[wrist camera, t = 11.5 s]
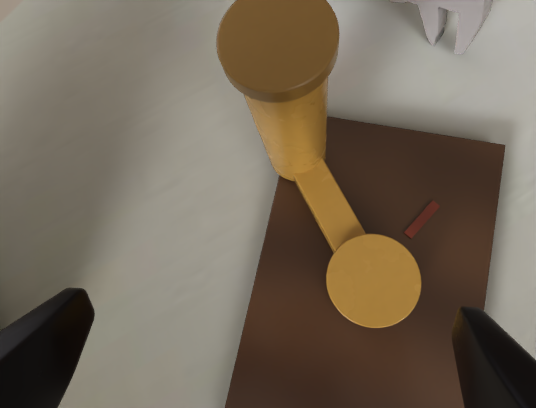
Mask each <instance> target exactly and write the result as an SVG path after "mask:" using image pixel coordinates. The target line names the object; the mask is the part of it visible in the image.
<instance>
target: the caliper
mask: <svg viewBox="0 0 536 408" xmlns="http://www.w3.org/2000/svg"><path fill="white" fill-rule="evenodd" d="M389 1H391V2H402V3H406V2H407V1H408V2H411V3H414V4H416V5H418V7H419V11H420V14H421V18H422V21H423V25H424V28H425V32H426V35H427V39H428V40H429V42H430V43H431V44H432V45H433V46H434V45H435V44H436V43H437V41H438V40H439V39H440V37H441V36H442V34H443V33H444V26H445V24H446V18H447V10H450V11H453V12H457V13H459V16H458V26H457V35H456V45H455V51H454V53H455V54H463V53H464V52H465V50H466V49H467V47H468V46H469V45H470V43H471V42H472V40H473V39H474V37H475V36H476V34H477V33H478V31H479V29H480V28H481V26H482V24H483V23H484V21H485V19H486V17H487V16H488V14H489V12H490V11H491V5H492V0H389Z"/></svg>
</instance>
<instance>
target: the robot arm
mask: <svg viewBox="0 0 536 408" xmlns="http://www.w3.org/2000/svg"><path fill="white" fill-rule="evenodd" d="M94 315H95V313H94V308H93V306H92V304H91V301H90V299H89V297H88V294H87V292H86V291H85V290H84V289H82V288H66V289H65V290H63V291H61V292H60V293H58V294H57V295H55V296H54V297H52V298H50V299H49V300H47V301H46V302H44V303H43V304H41V305H40V306H38V307H37V308H35V309H33V310H32V311H30V312H29V313H27V314H26V315H24V316H23V317H21V318H20V319H18V320H16V321H15V322H13V323H12V324H10V325H9V326H7V327H6V328H4V329H3V330H1V331H0V408H58V406H59V404H60V402H61V400H62V398H63V395H64V393H65V391H66V389H67V387H68V385H69V383H70V381H71V379H72V376H73V374H74V372H75V369H76V367H77V364H78V361H79V358H80V356H81V353H82V350H83V348H84V345H85V342H86V340H87V337H88V334H89V331H90V329H91V326H92V323H93V321H94ZM452 344H453V349H454V355H455V360H456V365H457V371H458V376H459V382H460V387H461V392H462V398H463V402H464V407H465V408H536V360H535V359H534V358H533V357H532V356H531V355H530V354H529V353H528V352H527V351H526V350H525V349H523V348H522V347H521V346H520V345H519V344H518V343H517V342H516V341H515V340H514V339H513V338H512V337H511V336H510V335H509V334H508V333H507V332H505V331H504V330H503V329H502V328H501V327H500V326H499V325H498V324H497V323H496V322H495V321H494V320H493V319H492V318H491V317H490V316H489V315H487V314H486V313H485V312H484V311H483V310H482V309H480V308H478V307H466V306H462V307H460V308H459V309H458V311H457V314H456V318H455V321H454V325H453V329H452Z"/></svg>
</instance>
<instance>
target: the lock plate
mask: <svg viewBox="0 0 536 408" xmlns="http://www.w3.org/2000/svg"><path fill="white" fill-rule="evenodd" d="M504 152H505V145H502V144H496V143H489V142H483V141H477V140H471V139H464V138H458V137H452V136H446V135H439V134H433V133H427V132H421V131H414V130H408V129H402V128H396V127H389V126H383V125H377V124H370V123H364V122H358V121H352V120H345V119H339V118H333V117H327V131H326V158H325V163H326V165H327V167H328V168H329V170H330V172H331V174H332V175H333V177H334V179H335V181H336V182H337V184H338V186H339V187H340V189H341V191H342V193H343V194H344V196H345V198H346V200H347V201H348V203H349V205H350V207H351V208H352V210H353V212H354V214H355V215H356V217H357V219H358V221H359V222H360V224H361V226H362V228H363V229H364V231H365V233H366V234H380V235H384V236H387V237H390V238H392V239H394V240H396V241H398V242H399V243H401V244H402V245H403V246H404V247H406V248H407V249H408V251H409V252H410V253H411V254H412V256H413V257H414V259H415V260H416V262H417V264H418V267H419V270H420V274H421V292H420V296H419V299H418V302H417V304H416V306H415V307H414V309H413V310H412V312H411V313H410V314H409V315H408V316H407V317H406V318H404V319H403V320H402V321H400V322H398V323H396V324H394V325H392V326H388V327H383V328H370V327H364V326H361V325H358V324H356V323H354V322H352V321H350V320H349V319H347V318H346V317H345V316H343V315H342V314H341V313H340V312H339V311H338V309H337V308H336V307H335V305H334V304H333V302H332V301H331V299H330V297H329V294H328V291H327V286H326V272H327V268H328V264H329V262H330V259H331V257H332V256H333V254H334V253H333V251H332V249H331V247H330V245H329V244H328V242H327V240H326V238H325V236H324V234H323V233H322V231H321V229H320V227H319V225H318V223H317V222H316V220H315V218H314V216H313V214H312V212H311V210H310V209H309V207H308V205H307V203H306V201H305V199H304V198H303V196H302V194H301V192H300V190H299V188H298V187H297V185H296V183H295V181H291V180H288V179H285V178H283V177H282V176H280V175H279V179H278V184H277V188H276V192H275V196H274V201H273V205H272V209H271V213H270V218H269V222H268V226H267V230H266V235H265V239H264V243H263V247H262V252H261V256H260V260H259V264H258V269H257V273H256V277H255V281H254V286H253V290H252V294H251V298H250V303H249V307H248V311H247V315H246V320H245V324H244V328H243V332H242V337H241V341H240V345H239V349H238V354H237V358H236V362H235V366H234V371H233V375H232V379H231V383H230V388H229V392H228V396H227V400H226V405H225V408H465V407H464V402H463V398H462V392H461V387H460V382H459V376H458V371H457V365H456V360H455V355H454V349H453V344H452V329H453V325H454V321H455V318H456V314H457V311H458V309H459V308H460V307H462V306H466V307H478V308H480V309H482V310H483V311H484V305H485V298H486V290H487V282H488V275H489V267H490V259H491V252H492V244H493V237H494V229H495V221H496V214H497V206H498V198H499V191H500V183H501V175H502V168H503V160H504Z"/></svg>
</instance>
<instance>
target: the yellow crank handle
mask: <svg viewBox="0 0 536 408" xmlns="http://www.w3.org/2000/svg"><path fill="white" fill-rule="evenodd" d="M216 46H217V53H218V57H219V60H220V62H221V65H222V67H223V69H224V71H225V74H226V76H227V77H228V79H229V81H230V82H231V83H232V84H233V86H234V87H235V88H237V89H238V90H239V91H240V92H241V93H243V94H244V96H245V99H246V101H247V104H248V106H249V109H250V111H251V114H252V116H253V119H254V121H255V124H256V126H257V129H258V131H259V134H260V136H261V139H262V141H263V144H264V146H265V149H266V151H267V154H268V156H269V159H270V161H271V164H272V166H273V168H274V169H275V171H276V172H277V173H278V174H279V175H280V176H282V177H283V178H285V179H288V180H291V181H295V183H296V185H297V187H298V188H299V190H300V192H301V194H302V196H303V198H304V199H305V201H306V203H307V205H308V207H309V209H310V210H311V212H312V214H313V216H314V218H315V220H316V222H317V223H318V225H319V227H320V229H321V231H322V233H323V234H324V236H325V238H326V240H327V242H328V244H329V245H330V247H331V249H332V251H333V253H334V254H333V256H332V257H331V259H330V262H329V264H328V268H327V272H326V286H327V291H328V294H329V297H330V299H331V301H332V302H333V304H334V305H335V307H336V308H337V309H338V311H339V312H340V313H341V314H342V315H343V316H345V317H346V318H347V319H349V320H350V321H352V322H354V323H356V324H358V325H361V326H364V327H370V328H383V327H388V326H392V325H394V324H396V323H398V322H400V321H402V320H403V319H404V318H406V317H407V316H408V315H409V314H410V313H411V312H412V310H413V309H414V307H415V306H416V304H417V302H418V299H419V296H420V292H421V274H420V270H419V267H418V264H417V262H416V260H415V259H414V257H413V256H412V254H411V253H410V252H409V251H408V249H407V248H406V247H404V246H403V245H402V244H401V243H399V242H398V241H396V240H394V239H392V238H390V237H387V236H384V235H380V234H366V233H365V231H364V229H363V228H362V226H361V224H360V222H359V221H358V219H357V217H356V215H355V214H354V212H353V210H352V208H351V207H350V205H349V203H348V201H347V200H346V198H345V196H344V194H343V193H342V191H341V189H340V187H339V186H338V184H337V182H336V181H335V179H334V177H333V175H332V174H331V172H330V170H329V168H328V167H327V165H326V163H325V158H326V131H327V96H328V76H329V74H330V73H331V71H332V69H333V67H334V65H335V62H336V59H337V55H338V47H339V25H338V20H337V18H336V15H335V13H334V11H333V9H332V7H331V6H330V5H329V3H328V2H327V1H326V0H236V1H235V2H234V3H233V4H232V5H231V6H230V8H229V9H228V10H227V12H226V13H225V15H224V16H223V18H222V21H221V23H220V26H219V29H218V33H217V44H216Z"/></svg>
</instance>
